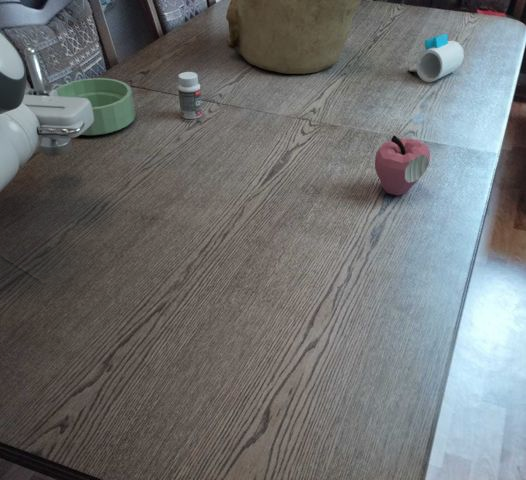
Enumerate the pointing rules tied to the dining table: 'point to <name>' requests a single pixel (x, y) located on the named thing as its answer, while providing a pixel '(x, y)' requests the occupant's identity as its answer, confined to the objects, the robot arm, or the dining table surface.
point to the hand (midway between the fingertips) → (44, 93)
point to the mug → (438, 58)
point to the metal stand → (48, 144)
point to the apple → (401, 164)
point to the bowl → (103, 102)
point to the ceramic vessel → (290, 32)
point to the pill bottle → (189, 95)
